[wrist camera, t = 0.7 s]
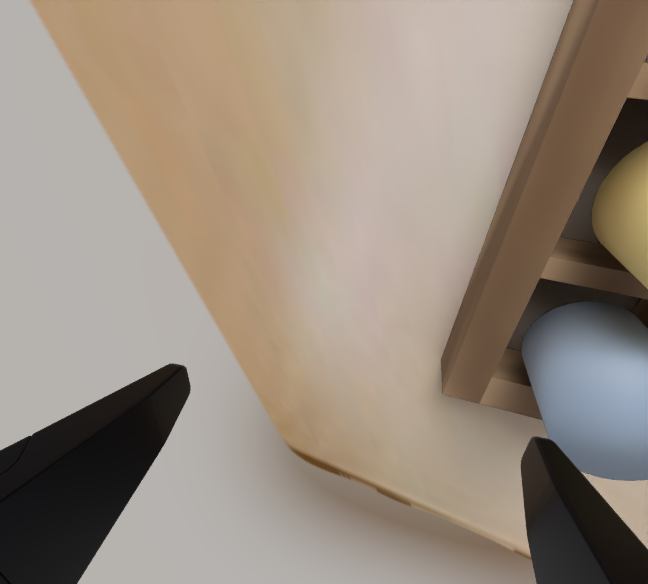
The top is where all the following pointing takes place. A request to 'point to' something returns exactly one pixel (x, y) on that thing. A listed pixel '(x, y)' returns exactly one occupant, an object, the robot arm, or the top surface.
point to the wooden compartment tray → (550, 203)
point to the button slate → (592, 386)
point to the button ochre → (625, 212)
